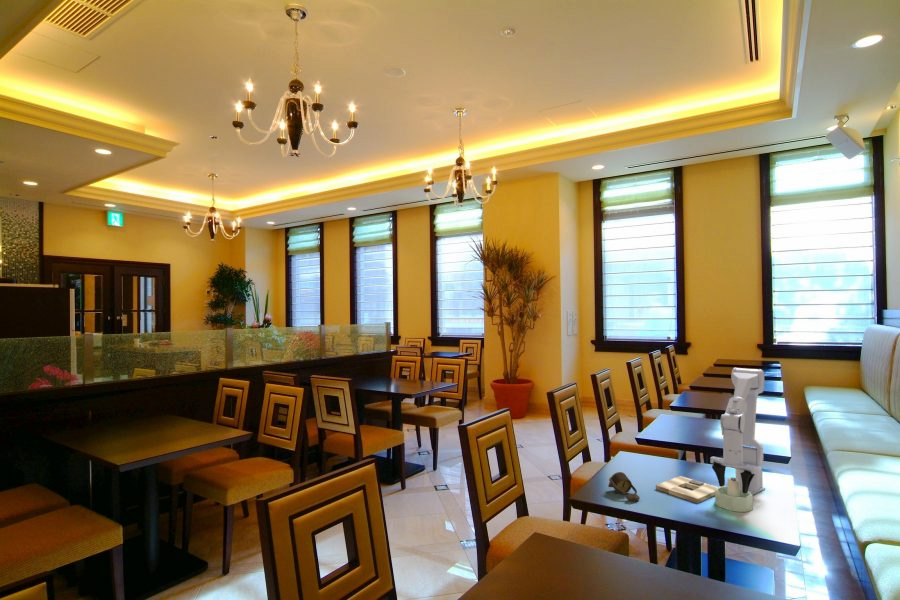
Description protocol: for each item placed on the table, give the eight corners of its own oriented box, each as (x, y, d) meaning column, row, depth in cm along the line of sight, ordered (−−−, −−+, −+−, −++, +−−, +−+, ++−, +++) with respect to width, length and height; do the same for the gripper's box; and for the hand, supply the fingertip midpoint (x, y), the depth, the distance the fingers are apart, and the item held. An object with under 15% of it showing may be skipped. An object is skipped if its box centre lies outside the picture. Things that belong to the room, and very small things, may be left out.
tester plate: (680, 479, 196) (680, 474, 196) (721, 492, 183) (721, 486, 183) (655, 489, 187) (655, 483, 187) (697, 503, 174) (697, 497, 174)
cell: (730, 500, 174) (730, 475, 174) (741, 504, 171) (741, 478, 171) (725, 503, 172) (725, 477, 172) (736, 506, 169) (736, 481, 169)
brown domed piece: (636, 474, 188) (609, 467, 189) (644, 483, 175) (614, 476, 177) (632, 493, 187) (605, 486, 189) (640, 504, 175) (610, 496, 176)
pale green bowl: (725, 496, 179) (725, 483, 179) (758, 506, 170) (758, 493, 170) (709, 503, 173) (708, 490, 173) (742, 514, 164) (742, 501, 164)
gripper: (705, 446, 175) (706, 485, 175) (749, 456, 163) (750, 498, 163) (716, 442, 179) (716, 481, 179) (760, 452, 167) (760, 493, 167)
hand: (733, 489), depth 172 cm, fingers open, 7 cm apart
